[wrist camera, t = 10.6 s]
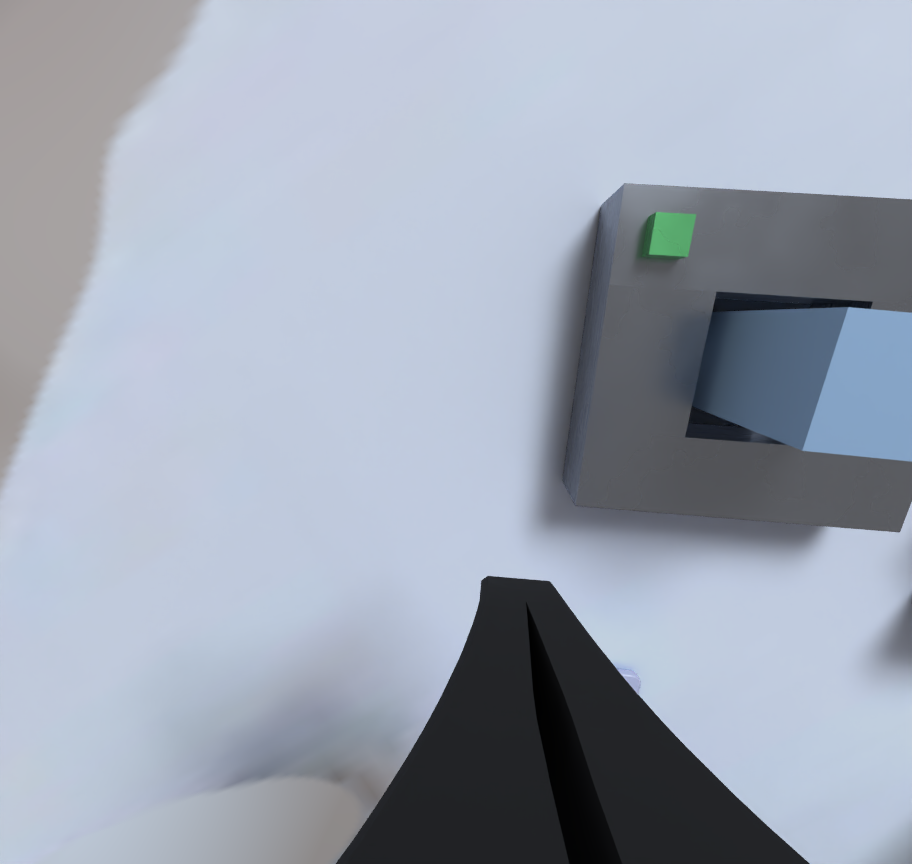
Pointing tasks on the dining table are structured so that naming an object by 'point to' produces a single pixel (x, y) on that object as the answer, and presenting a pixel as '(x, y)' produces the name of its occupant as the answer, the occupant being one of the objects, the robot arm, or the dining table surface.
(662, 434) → the port block
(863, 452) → the plug
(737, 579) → the dining table surface
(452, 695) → the robot arm
